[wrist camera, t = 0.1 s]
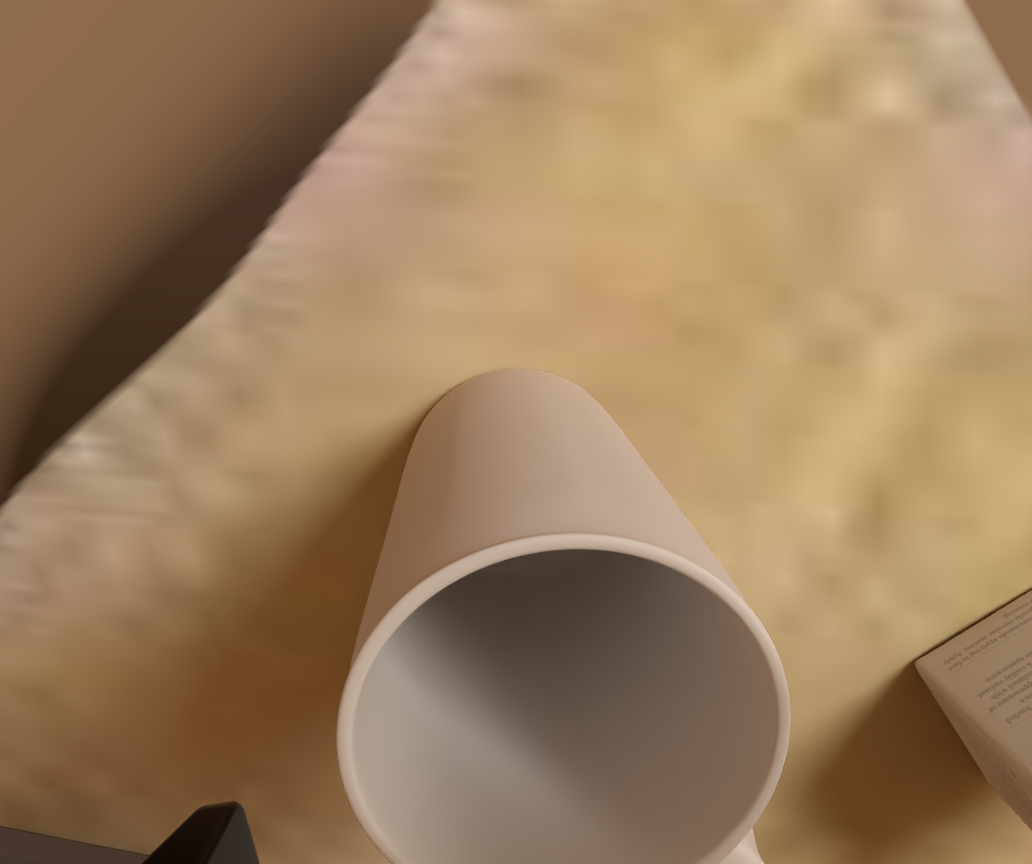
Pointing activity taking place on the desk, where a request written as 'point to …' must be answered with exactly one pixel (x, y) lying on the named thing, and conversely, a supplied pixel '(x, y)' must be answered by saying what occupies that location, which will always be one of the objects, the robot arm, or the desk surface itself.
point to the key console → (57, 851)
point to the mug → (553, 653)
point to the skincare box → (991, 697)
